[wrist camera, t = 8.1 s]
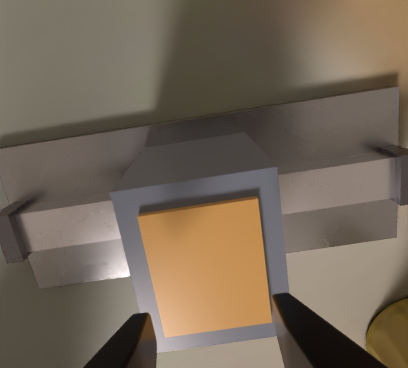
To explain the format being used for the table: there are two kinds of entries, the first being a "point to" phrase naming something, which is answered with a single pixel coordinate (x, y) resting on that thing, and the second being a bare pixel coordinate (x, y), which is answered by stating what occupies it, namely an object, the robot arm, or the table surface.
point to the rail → (199, 129)
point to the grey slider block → (203, 240)
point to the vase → (390, 336)
